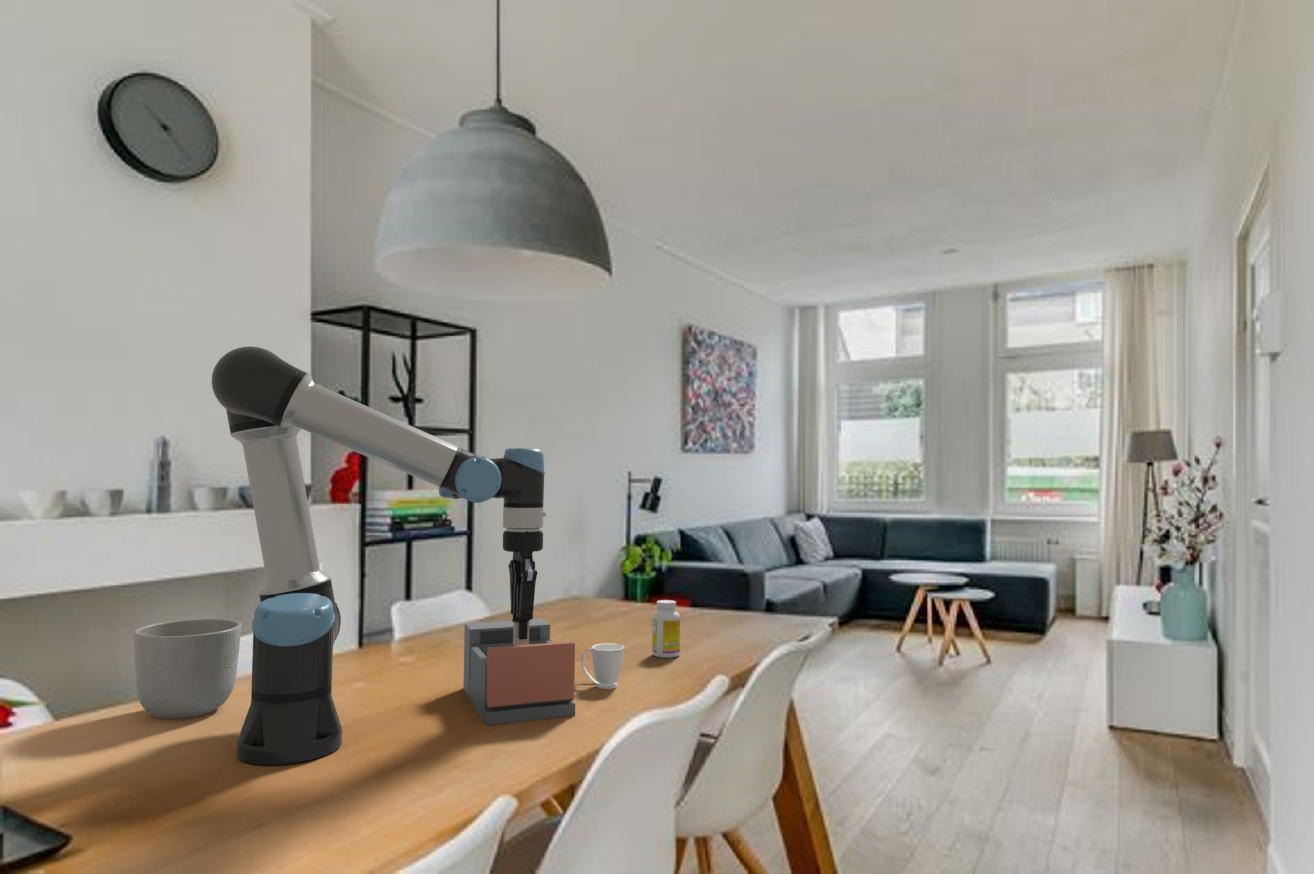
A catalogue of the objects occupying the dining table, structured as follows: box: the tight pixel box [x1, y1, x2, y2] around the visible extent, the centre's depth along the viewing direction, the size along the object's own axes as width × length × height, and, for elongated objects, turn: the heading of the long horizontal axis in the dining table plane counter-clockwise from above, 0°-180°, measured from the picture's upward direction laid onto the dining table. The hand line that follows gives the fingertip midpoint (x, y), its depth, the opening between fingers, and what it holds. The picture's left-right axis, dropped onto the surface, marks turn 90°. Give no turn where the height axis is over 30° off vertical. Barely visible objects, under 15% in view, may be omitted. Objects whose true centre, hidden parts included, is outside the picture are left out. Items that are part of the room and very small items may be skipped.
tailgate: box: [486, 640, 576, 709], centre depth 145 cm, size 16×2×10 cm, turn 112°
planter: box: [132, 618, 243, 720], centre depth 147 cm, size 17×17×15 cm
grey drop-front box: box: [468, 639, 576, 726], centre depth 153 cm, size 16×18×10 cm
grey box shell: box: [462, 618, 551, 698], centre depth 164 cm, size 16×7×13 cm, turn 112°
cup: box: [581, 642, 625, 690], centre depth 168 cm, size 7×10×8 cm
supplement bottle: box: [651, 599, 681, 659], centre depth 195 cm, size 7×7×13 cm
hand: (520, 655), depth 153 cm, fingers closed
